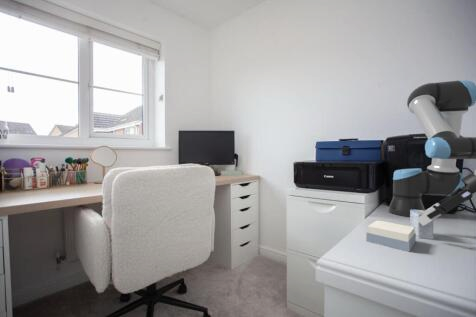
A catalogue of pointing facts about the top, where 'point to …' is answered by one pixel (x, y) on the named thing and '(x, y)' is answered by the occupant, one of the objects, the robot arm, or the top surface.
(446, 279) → the top surface
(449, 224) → the top surface
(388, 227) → the cream grey flat block
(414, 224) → the medicine box
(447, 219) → the top surface
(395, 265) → the top surface
